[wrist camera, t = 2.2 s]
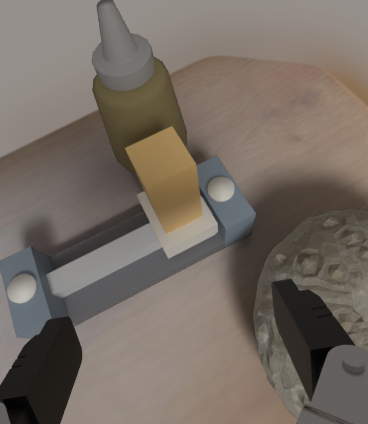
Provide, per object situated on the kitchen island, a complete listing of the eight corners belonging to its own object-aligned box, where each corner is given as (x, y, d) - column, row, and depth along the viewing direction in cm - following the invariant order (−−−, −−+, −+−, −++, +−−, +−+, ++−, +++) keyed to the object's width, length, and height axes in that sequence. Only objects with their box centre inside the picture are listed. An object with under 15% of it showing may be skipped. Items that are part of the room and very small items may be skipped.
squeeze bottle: (184, 193, 35) (153, 49, 18) (114, 186, 36) (27, 46, 20) (195, 134, 38) (176, -34, 22) (130, 129, 39) (67, -32, 23)
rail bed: (47, 340, 30) (13, 337, 25) (29, 274, 33) (-5, 260, 28) (251, 233, 32) (256, 211, 27) (217, 181, 35) (216, 152, 30)
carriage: (170, 263, 30) (142, 210, 19) (145, 212, 32) (107, 139, 21) (218, 238, 30) (216, 173, 19) (189, 190, 32) (173, 108, 22)
